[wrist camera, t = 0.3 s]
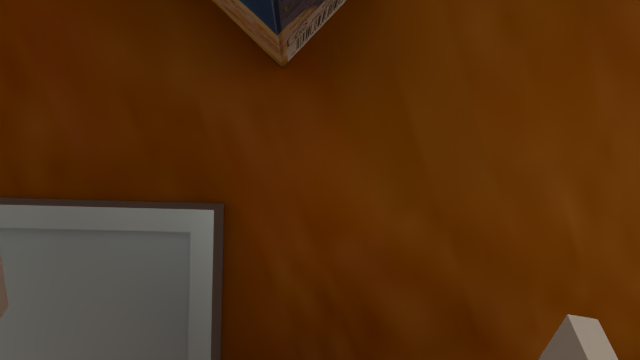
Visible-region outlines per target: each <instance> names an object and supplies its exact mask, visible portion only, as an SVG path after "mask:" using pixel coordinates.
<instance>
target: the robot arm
mask: <svg viewBox="0 0 640 360" xmlns="http://www.w3.org/2000/svg"><path fill="white" fill-rule="evenodd" d="M7 308H8V299H7V293H6V286H5V279H4V272H3V266H2V259H1V252H0V318H1V317H2V315H3V314H4V312H5V311H6V309H7ZM538 360H618V358H617V356H616V354H615V352H614V350H613V348H612V347H611V345H610V343H609V341H608V339H607V337H606V335H605V333H604V331H603V329H602V327H601V325H600V323H599V321H598V319H592V318H586V317H580V316H574V315H568V314H567V316H566V317H565V319H564V320H563V322H562V323H561V325H560V327H559V328H558V330H557V331H556V333H555V334H554V336H553V337H552V339H551V341H550V342H549V344H548V345H547V347H546V348H545V350H544V352H543V353H542V355H541V356H540V358H539V359H538Z"/></svg>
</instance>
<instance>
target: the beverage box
mask: <svg viewBox="0 0 640 360" xmlns="http://www.w3.org/2000/svg"><path fill="white" fill-rule="evenodd" d="M212 1H213V2H214V3H215V4H216V5H217V6H218V7H219V8H220V9H221V10H222V11H223V12H224V13H226V14H227V15H228V16H229V17H230V18H231V19H232V20H233V21H234V22H235V23H236V24H237V25H238V26H239V27H240V28H241V29H242V30H243V31H244V32H245V33H246V34H247V35H248V36H250V37H251V38H252V39H253V40H254V41H255V42H256V43H257V44H258V45H259V46H260V47H261V48H262V49H263V50H264V51H265V52H266V53H267V54H268V55H269V56H270V57H271V58H272V59H274V60H275V61H276V62H277V63H278V64H279V65H280V66H281V67H282V68H283V67H284V66H285V65H286V64H287V63H288V62H289V61H290V60H291V58H292V57H293V56H294V55H295V54H296V53H297V52H298V51H299V50H300V49H301V48H302V47H303V46H304V45H305V44H306V43H307V42H308V41H309V39H310V38H311V37H312V36H313V35H314V34H315V33H316V32H317V31H318V30H319V29H320V28H321V27H322V26H323V25H324V24H325V23H326V22H327V20H328V19H329V18H330V17H331V16H332V15H333V14H334V13H335V12H336V11H337V10H338V9H339V8H340V7H341V6H342V5H343V4H344V3H345V1H346V0H212Z"/></svg>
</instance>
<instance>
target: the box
mask: <svg viewBox="0 0 640 360" xmlns="http://www.w3.org/2000/svg"><path fill="white" fill-rule="evenodd" d="M223 227H224V203H185V202H147V201H108V200H69V199H30V198H0V252H1V259H2V266H3V272H4V279H5V286H6V293H7V299H8V308H7V309H6V311H5V312H4V314H3V315H2V317H1V318H0V360H220V358H221V314H222V271H223Z"/></svg>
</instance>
